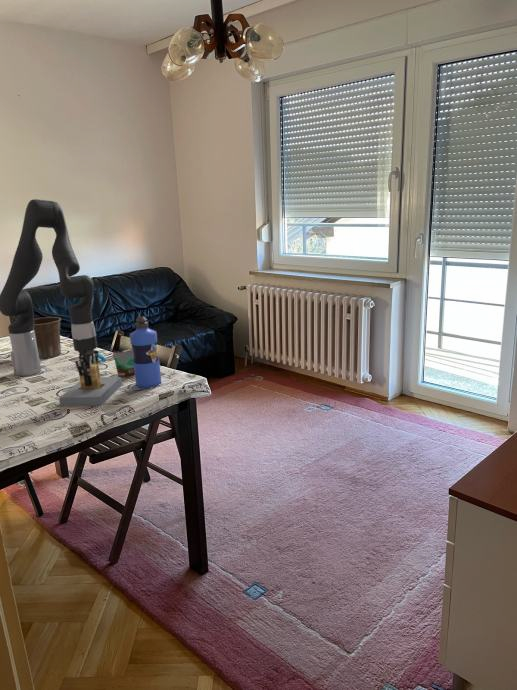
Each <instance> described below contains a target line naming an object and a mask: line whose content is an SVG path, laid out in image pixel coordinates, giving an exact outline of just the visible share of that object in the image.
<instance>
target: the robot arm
mask: <svg viewBox="0 0 517 690" xmlns="http://www.w3.org/2000/svg"><path fill="white" fill-rule="evenodd" d="M38 228H45V229H53V230H54V232H55V239H54V242H53V245H52V249H51V256H52V260H53V262H54V265H55V267H56V269H57V272H58V277H59V290H60V294H61V296H62V297H64V298H65V299H67V300H72V299H78V298H81V299H80V302H78V303H76V304H73V305H72V306H70V307H69V312H68V313H69V319H70V326H71V327H70V328H71V331H70V332H71V337H72V343H73V350H74V351H76V352H78V360H76V361H75V367H76V368H77V371H78V376H79V375H80V376H84V382H85V386H91V385H92V381H91V375H90V369H91V364H98V365H99V357H98V352H99V350H96V349H97V348H98V340H97V335H96V328H95V323H94V320H93V319H94V318H93V312H92V311H93V310H92V305H93V296H94V290H95V286H94V285H95V283H94V281H93V279H92V278H91V277H90V276H89V275H85V274H83V275H81V274H80V275H76V274H78V273H79V272H80V269H81V268H80V263H79V261H78V258H77V257H76V256H77V255H76V254H75V251H74V249H73V247H72V243H71V240H70V235H69V231H68V226H67V222H66V218H65V214H64V211H63V208H62V207H61V205H60V204H59V202H57V201H54V200H45V199H36V198H35V199H31V200H29V202H28V203H27V205H26V208H25V213H24V218H23V224H22V229H21V234H20V237H19V241H18V244H17V247H16V250H15V252H14V256H13V260H12V262H11V263H12V264H11V266H10V270H9V273H8V276H7V279H6V281H5V284H4V286H3V288H2V290H1V292H0V313H1V314H2V316H6V317H14V316H17V318H16V319H15V320H14V321H13V322H12V323H10V324H9V325H8V328H7V329H8V334H9V340H10V345H11V351H10V359H11V363H12V364H11V365H12V368H13V369H12V370H13V374H14V376H19V377H20V376H21V377H26V376H34V375H36V374H39V373H41V371H42V367H41V361H40V359H39V354H38V348H37V342H36V336H35V331H34V319H35V314H34V308H33V307H34V306H33V300H32V297H31V295H30V293H29V292H28V291H27V290H25V289H24V288H25V287H26V286H27V285H28V284H29V283H30V282H31V281H33V279H34V278H36V276H37V274H38V273H39V270H40V268H41V265H42V262H43V253H42V250H41V247H40V245H39V243H38V241H37V238H36V236H37V235H36V234H37V230H38ZM94 350H96V351H94ZM86 365H89V366H88V367H86ZM87 371H88V372H87Z"/></svg>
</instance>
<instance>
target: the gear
mask: <svg viewBox="0 0 517 690" xmlns="http://www.w3.org/2000/svg"><path fill="white" fill-rule="evenodd" d="M94 351H97V350H96V349H94ZM99 359H100V360H101V361H103V362H106V361H107V359H106V358H105V356H103V355H102V353H99V351H98V360H99Z"/></svg>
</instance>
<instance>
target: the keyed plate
mask: <svg viewBox="0 0 517 690" xmlns="http://www.w3.org/2000/svg"><path fill="white" fill-rule="evenodd" d="M100 378H101V385H102V388H101V389H81V383H80V380H79V381H78V382H77V383H76V384H74V385H72V387H70V388H69V389H67V391H65V392H64V393H63V394H62V395H60V396H59V397H58V400H59V406H60V407H82V406H86V407H87V406H91V407H92V406H102V405H103V404H104V403H106V402H107V400H108V399H109V398H111V396H112V395H114V393H115V392H117V390H118V389H120V388H121V387H122V385H123V380H122V377H118V376H108V377H107V376H105V377H104V376H102V377H101V376H100Z"/></svg>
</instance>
